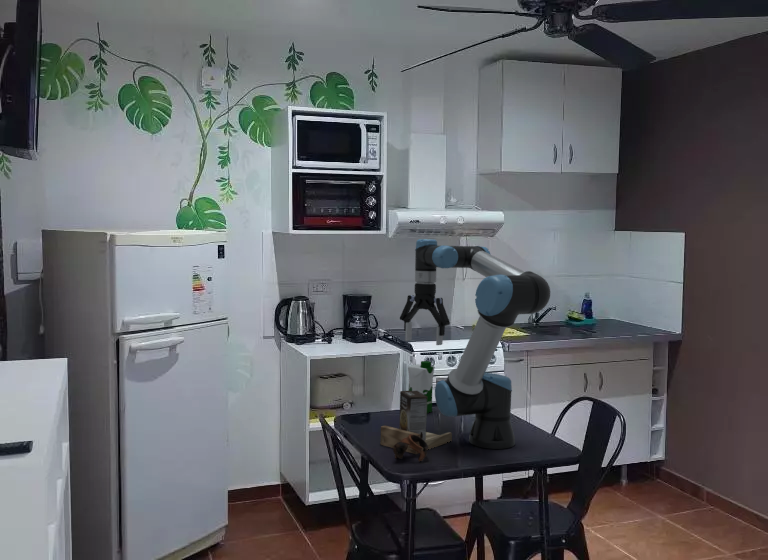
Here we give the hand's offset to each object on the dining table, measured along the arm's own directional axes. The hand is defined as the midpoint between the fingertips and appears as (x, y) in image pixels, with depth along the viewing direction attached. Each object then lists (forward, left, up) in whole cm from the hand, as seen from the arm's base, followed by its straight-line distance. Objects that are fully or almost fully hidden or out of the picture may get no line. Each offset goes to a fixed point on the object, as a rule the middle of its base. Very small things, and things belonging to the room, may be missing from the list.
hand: (423, 342), depth 253 cm
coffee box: (-10, +19, -30) cm, 37 cm away
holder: (-10, +17, -31) cm, 36 cm away
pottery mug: (-18, +31, -31) cm, 48 cm away
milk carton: (+14, -18, -31) cm, 38 cm away
